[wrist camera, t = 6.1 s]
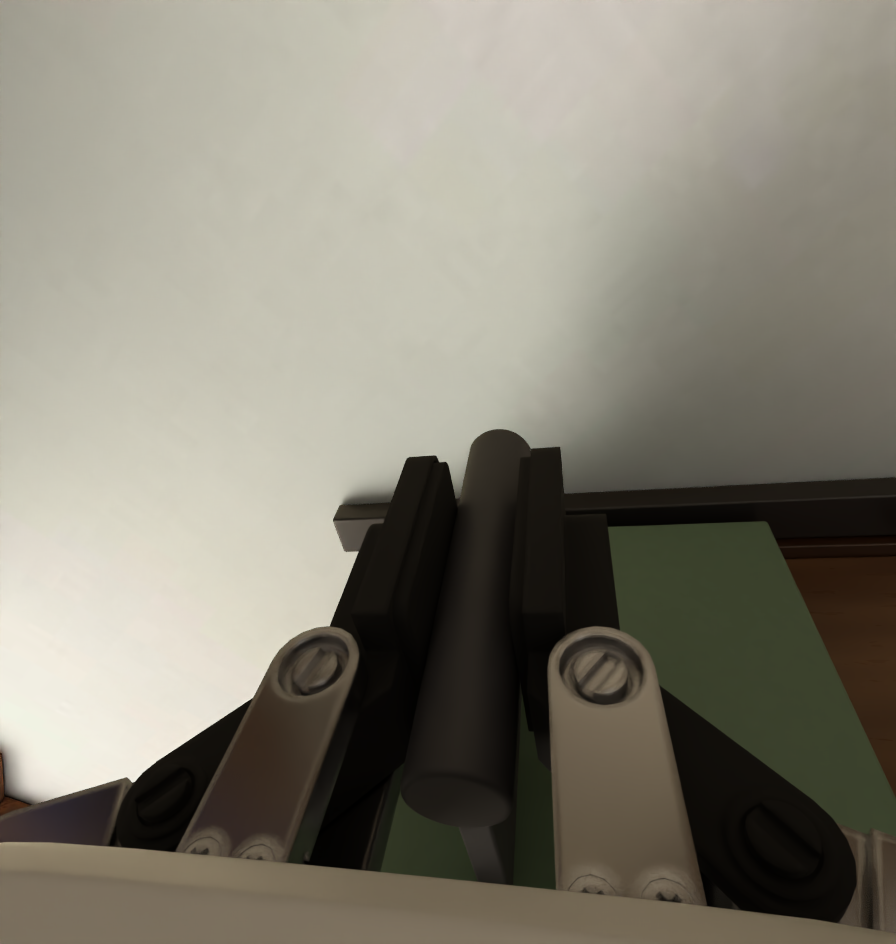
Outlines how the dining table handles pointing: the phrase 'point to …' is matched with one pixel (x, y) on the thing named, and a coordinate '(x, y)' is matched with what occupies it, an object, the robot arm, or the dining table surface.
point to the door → (677, 666)
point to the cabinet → (807, 556)
